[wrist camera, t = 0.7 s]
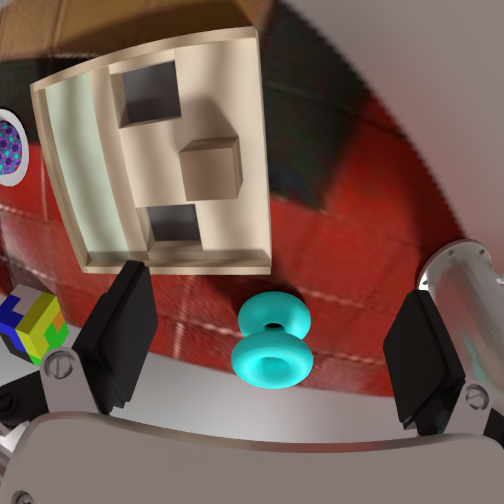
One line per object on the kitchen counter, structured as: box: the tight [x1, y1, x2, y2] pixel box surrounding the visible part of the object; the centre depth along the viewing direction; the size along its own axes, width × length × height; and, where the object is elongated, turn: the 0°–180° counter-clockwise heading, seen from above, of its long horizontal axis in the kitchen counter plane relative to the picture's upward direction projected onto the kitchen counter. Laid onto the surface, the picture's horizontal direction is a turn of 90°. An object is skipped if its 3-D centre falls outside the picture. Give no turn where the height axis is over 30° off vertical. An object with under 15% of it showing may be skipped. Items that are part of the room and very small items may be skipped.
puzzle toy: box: [0, 284, 69, 367], centre depth 46 cm, size 10×10×10 cm
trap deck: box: [30, 26, 272, 275], centre depth 31 cm, size 24×25×4 cm
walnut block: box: [178, 136, 243, 201], centre depth 27 cm, size 4×4×4 cm
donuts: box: [231, 291, 313, 389], centre depth 40 cm, size 10×10×10 cm
